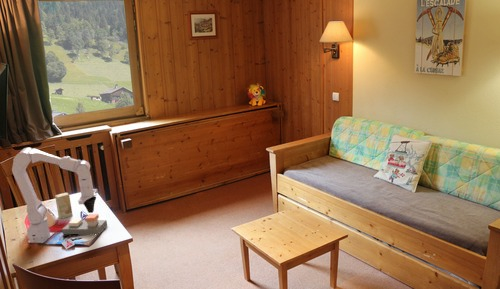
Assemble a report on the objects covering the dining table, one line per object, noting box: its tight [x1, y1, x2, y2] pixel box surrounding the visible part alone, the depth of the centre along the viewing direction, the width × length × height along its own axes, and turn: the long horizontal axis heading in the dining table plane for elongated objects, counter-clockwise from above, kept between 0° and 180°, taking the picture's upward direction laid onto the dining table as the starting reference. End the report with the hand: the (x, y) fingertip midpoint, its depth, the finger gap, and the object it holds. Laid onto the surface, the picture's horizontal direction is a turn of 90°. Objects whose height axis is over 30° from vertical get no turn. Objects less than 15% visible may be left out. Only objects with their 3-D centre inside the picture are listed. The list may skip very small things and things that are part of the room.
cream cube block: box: [68, 218, 83, 227], centre depth 211 cm, size 5×5×5 cm
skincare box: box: [54, 192, 73, 219], centre depth 227 cm, size 6×4×12 cm
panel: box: [61, 219, 108, 236], centre depth 210 cm, size 10×18×3 cm, turn 82°
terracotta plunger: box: [84, 213, 100, 227], centre depth 209 cm, size 5×5×5 cm
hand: (90, 212), depth 207 cm, fingers closed
